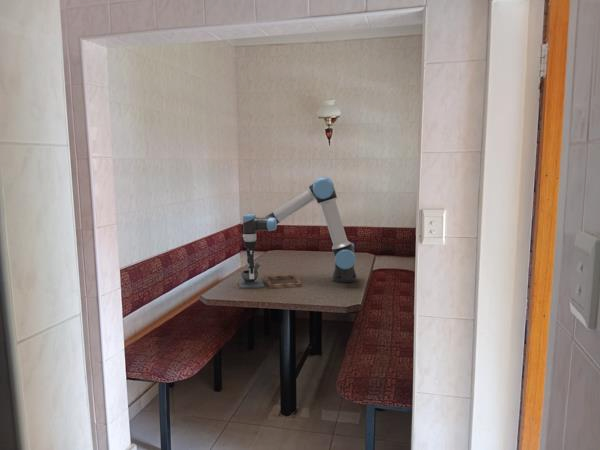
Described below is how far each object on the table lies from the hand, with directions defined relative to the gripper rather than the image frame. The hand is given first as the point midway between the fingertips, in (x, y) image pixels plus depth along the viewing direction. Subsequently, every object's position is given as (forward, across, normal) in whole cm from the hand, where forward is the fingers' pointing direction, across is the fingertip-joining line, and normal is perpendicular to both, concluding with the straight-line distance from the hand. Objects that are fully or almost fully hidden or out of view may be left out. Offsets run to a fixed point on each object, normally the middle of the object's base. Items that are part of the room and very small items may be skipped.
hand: (250, 276), depth 273 cm
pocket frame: (+5, 0, +19) cm, 20 cm away
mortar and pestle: (+4, 0, 0) cm, 4 cm away
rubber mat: (+5, 0, 0) cm, 5 cm away
